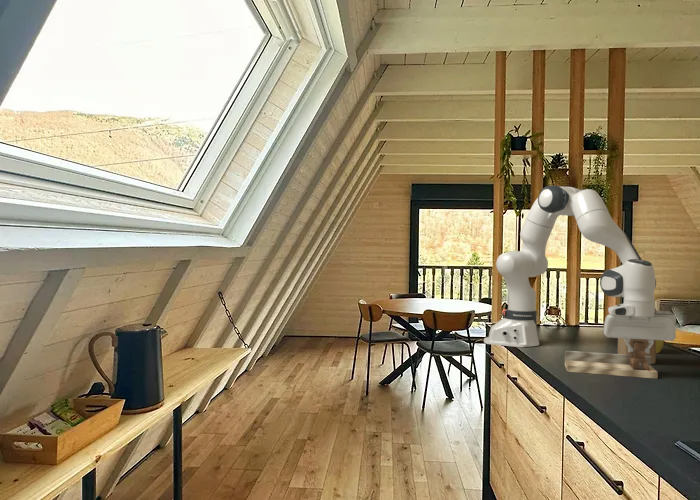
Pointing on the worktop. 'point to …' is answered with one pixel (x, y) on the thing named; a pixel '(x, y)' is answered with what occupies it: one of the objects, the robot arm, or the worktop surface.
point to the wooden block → (624, 348)
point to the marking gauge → (638, 356)
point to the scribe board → (606, 364)
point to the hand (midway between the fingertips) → (638, 352)
